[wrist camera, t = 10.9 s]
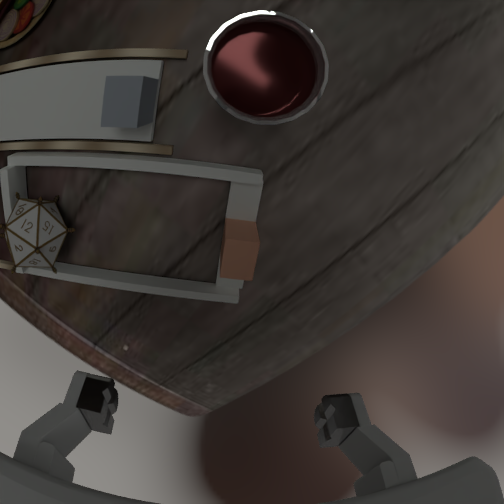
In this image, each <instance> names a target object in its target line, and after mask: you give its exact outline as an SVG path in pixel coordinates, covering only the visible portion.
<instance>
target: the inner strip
mask: <svg viewBox="0 0 504 504" xmlns="http://www.w3.org/2000/svg"><path fill="white" fill-rule="evenodd" d="M163 65H164V61H162V60H107V61H90V62H78V63H68V64H59V65H52V66H45V67H38V68H32V69H27V70H22V71H17V72H12V73H7V74H3V75H0V141H6V140H23V139H55V138H83V139H116V140H135V141H150V142H151V141H152V140H153V136H154V127H155V118H156V111H157V103H158V96H159V89H160V83H161V77H162V71H163Z"/></svg>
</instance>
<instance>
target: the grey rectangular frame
mask: <svg viewBox="0 0 504 504" xmlns="http://www.w3.org/2000/svg"><path fill="white" fill-rule="evenodd" d="M26 166H66V167H88V168H106V169H120V170H133V171H145V172H156V173H167V174H176V175H185V176H194V177H203V178H211V179H219V180H226V181H231V185H230V191H229V198H228V204H227V210H226V217H225V223H224V230H223V236H222V243H221V250H220V257H219V264H218V271H217V278H216V283H208V282H199V281H191V280H182V279H174V278H166V277H158V276H150V275H143V274H135V273H128V272H121V271H114V270H107V269H100V268H93V267H86V266H80V265H73V264H67V263H61V262H55V264H54V267H55V268H56V270H57V274H55V273H54V272H53V271H52V268H48V267H17V268H16V272H18V273H22V274H23V273H29V274H34V275H39V276H44V277H49V278H55V279H60V280H66V281H72V282H77V283H83V284H89V285H95V286H102V287H108V288H115V289H121V290H128V291H135V292H142V293H150V294H157V295H165V296H173V297H181V298H189V299H198V300H207V301H216V302H226V303H236V304H238V301H239V288H240V289H242V288H243V283H244V280H247V281H252V279H253V274H254V270H255V265H256V260H257V256H258V251H259V246H260V239H259V235H258V230H257V226H256V218H257V213H258V208H259V203H260V198H261V193H262V188H263V183H264V181H263V180H262V179H263V173H262V171H261V170H260V169H253V168H247V167H240V166H233V165H226V164H218V163H210V162H202V161H194V160H185V159H175V158H165V157H154V156H141V155H127V154H110V153H87V152H17V153H15V154H12V155H10V156H8V166H6V167H4V168H2V169H0V178H1V189H2V198H3V207H4V214H5V220H6V223H7V221H8V218H9V216H10V214H11V212H12V210H13V208H14V206H15V204H16V202H17V200H18V199H17V198H16V196H15V195H16V192H18V193H19V195H20V198H25V199H28V197H27V184H26Z"/></svg>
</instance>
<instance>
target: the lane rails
mask: <svg viewBox="0 0 504 504" xmlns="http://www.w3.org/2000/svg"><path fill="white" fill-rule="evenodd" d="M187 55H188V50H179V49H153V48H130V49H105V50H91V51H80V52H71V53H63V54H56V55H50V56H43V57H38V58H33V59H27V60H23V61H18V62H14V63H9V64H5V65H1V66H0V73H2V72H6V71H11V70H16V69H20V68H25V67H31V66H36V65H43V64H49V63H56V62H64V61H73V60H84V59H97V58H119V57H155V58H178V59H187ZM23 149H82V150H109V151H126V152H141V153H154V154H165V155H172V154H173V145H162V144H150V143H135V142H117V141H89V140H44V141H17V142H1V143H0V150H23ZM12 267H14V263H13V262H9V261H4V260H0V268H4V269H9V270H11V269H12ZM15 271H16V270H15ZM71 282H72V281H71ZM101 287H102V286H101ZM114 289H115V288H114ZM149 294H150V293H149Z"/></svg>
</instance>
